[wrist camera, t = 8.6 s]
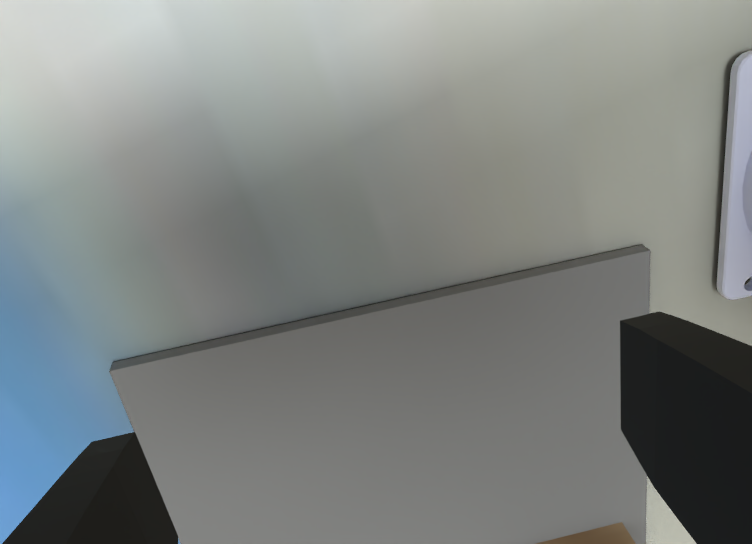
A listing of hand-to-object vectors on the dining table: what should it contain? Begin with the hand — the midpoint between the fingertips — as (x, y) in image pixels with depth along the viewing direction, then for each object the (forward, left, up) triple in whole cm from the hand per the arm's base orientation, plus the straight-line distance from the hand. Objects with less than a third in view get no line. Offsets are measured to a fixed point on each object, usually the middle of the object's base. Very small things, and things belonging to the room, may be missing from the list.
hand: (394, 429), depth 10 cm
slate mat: (-1, +13, -10) cm, 17 cm away
